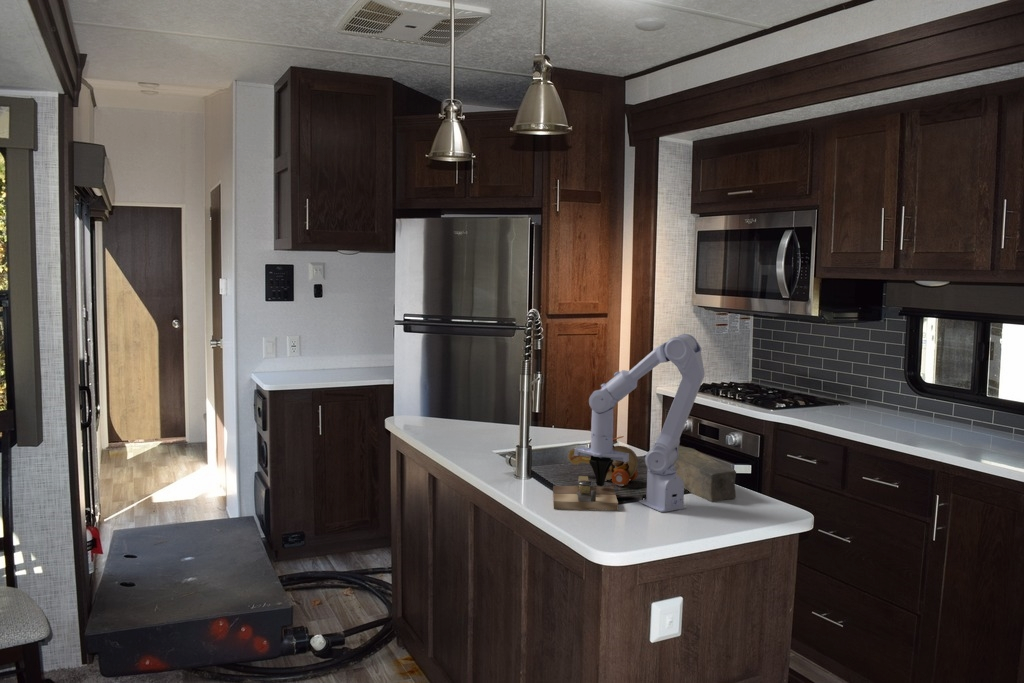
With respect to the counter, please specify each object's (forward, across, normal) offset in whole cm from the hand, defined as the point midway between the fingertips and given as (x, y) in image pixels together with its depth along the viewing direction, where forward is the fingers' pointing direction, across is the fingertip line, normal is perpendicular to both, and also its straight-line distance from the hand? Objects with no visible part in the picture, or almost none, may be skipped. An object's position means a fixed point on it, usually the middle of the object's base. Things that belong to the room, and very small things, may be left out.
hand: (600, 485), depth 218 cm
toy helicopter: (+3, -4, +15) cm, 16 cm away
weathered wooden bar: (+3, +20, +20) cm, 29 cm away
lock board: (+3, -2, -6) cm, 7 cm away
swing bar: (0, -3, -3) cm, 5 cm away
